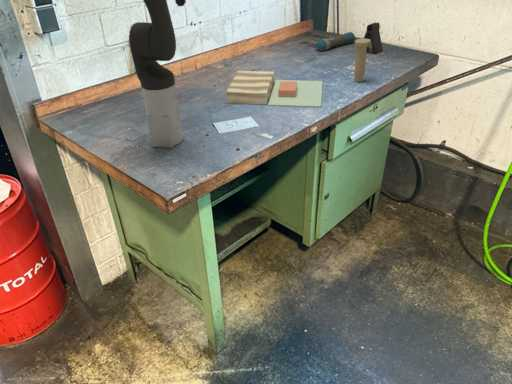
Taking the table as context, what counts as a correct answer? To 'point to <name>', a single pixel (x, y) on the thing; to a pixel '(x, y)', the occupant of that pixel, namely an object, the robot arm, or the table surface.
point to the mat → (299, 94)
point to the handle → (360, 58)
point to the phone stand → (374, 38)
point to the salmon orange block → (287, 89)
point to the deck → (250, 87)
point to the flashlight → (335, 41)
